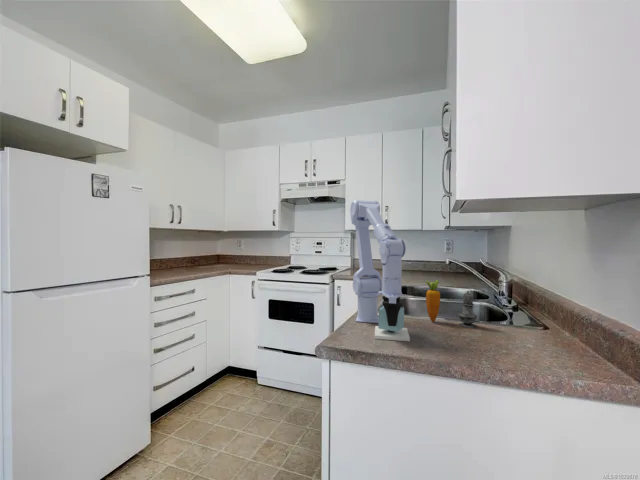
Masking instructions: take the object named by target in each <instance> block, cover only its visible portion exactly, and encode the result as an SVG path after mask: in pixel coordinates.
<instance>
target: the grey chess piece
mask: <svg viewBox="0 0 640 480" xmlns="http://www.w3.org/2000/svg"><path fill="white" fill-rule="evenodd" d="M473 298H474V297H473V295H472V293H470V291H469V290H466V293H464V294H463V298H462V299H463V300H462V303H461V305H462V312H461V313H458V316H459V320H460V321H461V323H459V327H463V328H466V329H467V328H468V329H475V328H477V325H475V324H474V323H475V322H476V320H477V318H478V315H476V314H474V311H473V310H474V307H473V306H475V305H474V304H473V303H474V302H473V301H474V299H473Z"/></svg>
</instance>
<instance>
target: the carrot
mask: <svg viewBox="0 0 640 480" xmlns="http://www.w3.org/2000/svg"><path fill="white" fill-rule="evenodd" d="M439 283H440V282H439V280H437V279H436V280H435V281H433V282H432V281H431V282H429V281H428V280H427V281H426V285H428V288H429V289H428V290H427V291H426V294H425V302H426V303H425V304H426V305H425V306H426V310H427V314H428V318H429V319H430V322H432V323H434V322H435V321H436V319H437V317H438V315H439V310H440V305H441V292H440V291H439V290H437V289H438V288H439V285H438V284H439Z"/></svg>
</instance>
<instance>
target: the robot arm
mask: <svg viewBox="0 0 640 480" xmlns="http://www.w3.org/2000/svg"><path fill="white" fill-rule="evenodd" d="M350 204H351V205H350V210H349V213H350V220H351V224H352V225H353V226H355V235H356V246H357V253H358V254H357V255H358V256H357V257H358V265H359V269H358V270H357V271H356V272H354V274H353V275H352V276H353V278H352V279H353V281H352V290H353V292H354V294H355V295H356V296H357V316H356V319H355V322H357V323H374V324H379V307H378V303H379V298H378V297H380V296H381V295H382V300H383V301H382V305H383V306H384V308H385V311H386V315H387V322H388V326H396V323H397V318H398V313H399V310H400V308H401V307H403V303H402V302H399V301H400V299H401V297H403V292H402V275H403V274H402V270H403V269H402V268H403V265H402V264H403V263H402V260H403V259H402V258H403V257H404V256H405V254H406V250H407V249H406V247H407V246H406V242H405V241H404V239H403V238H400V237H397V236H396V235H395V233H394V231H393V229H392V227H391V226H390V225H389V224H388V223H386V222H385V221H384V220H383V217H382V216H381V213H380V212H381V205H380V203H379V201H378V200H357V199H354V200H353V201H352V202H351V203H350ZM370 226H372V227H373V232H372V233H373V235H374V237H375V239H376V241H377V242H378V244H379V247H378V252H379V257H380V262H381V263H382V276H381V273H380V272H379V271H378V270H377V269H376V268H374V264H373V263H374V262H373V255H372V254H373V252H372V246H371V236H370V229H369V228H370ZM383 306H382V307H383Z"/></svg>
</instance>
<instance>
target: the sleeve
mask: <svg viewBox="0 0 640 480" xmlns="http://www.w3.org/2000/svg"><path fill="white" fill-rule="evenodd" d="M378 315H379V323H378V326H379V329H385V330H390V331H396V332H398V331H399V330H401V329H402V328H405V307H403V306H402V307H401V308H400V310H399V313H398V318H397V323H396V326H388V322H387V315H386V311H385V308H384V306H382V307H380V308H379V307H378Z"/></svg>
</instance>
